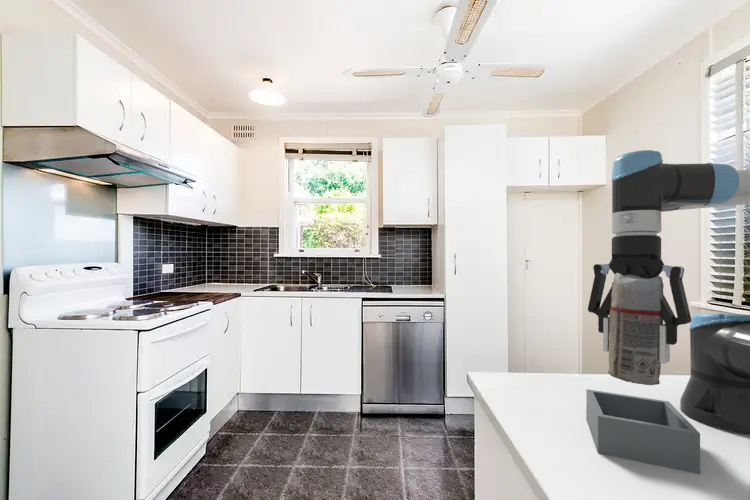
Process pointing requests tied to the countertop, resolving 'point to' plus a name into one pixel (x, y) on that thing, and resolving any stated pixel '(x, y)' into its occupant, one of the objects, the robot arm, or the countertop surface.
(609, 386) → the countertop surface
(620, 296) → the white paper tall sack
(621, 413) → the bin
